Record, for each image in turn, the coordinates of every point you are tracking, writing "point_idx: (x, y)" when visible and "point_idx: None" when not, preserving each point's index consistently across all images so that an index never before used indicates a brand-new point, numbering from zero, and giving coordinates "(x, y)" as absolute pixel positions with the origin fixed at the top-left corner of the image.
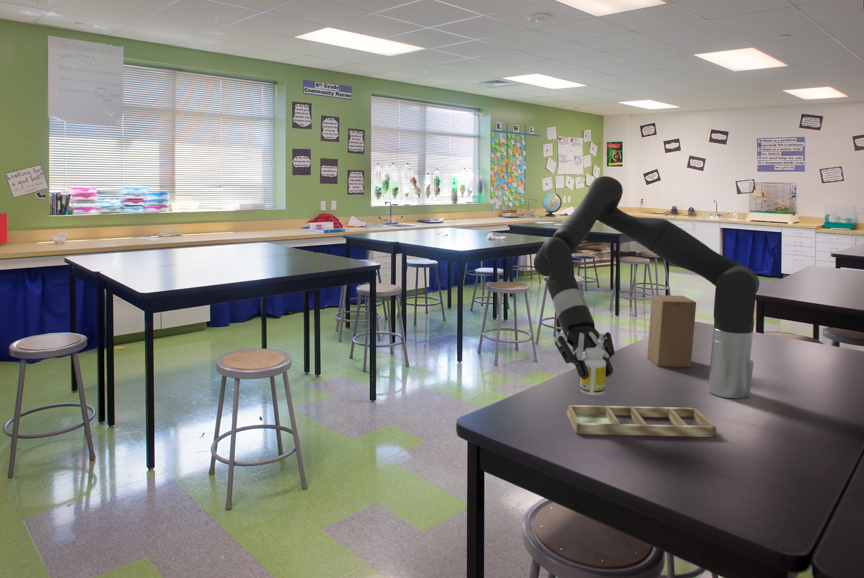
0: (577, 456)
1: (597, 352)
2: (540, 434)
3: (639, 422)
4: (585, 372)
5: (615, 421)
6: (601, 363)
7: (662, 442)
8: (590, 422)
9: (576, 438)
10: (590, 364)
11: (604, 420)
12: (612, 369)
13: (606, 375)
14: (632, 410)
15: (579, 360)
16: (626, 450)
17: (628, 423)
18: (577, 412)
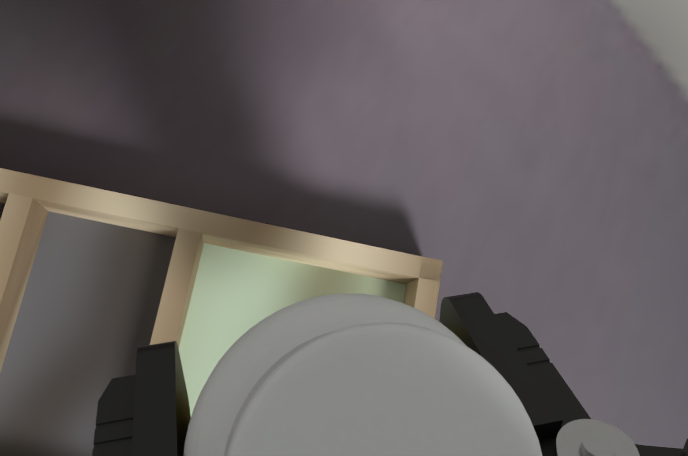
0: (504, 37)
1: (398, 332)
2: (610, 292)
3: (16, 275)
4: (489, 307)
5: (188, 269)
6: (309, 311)
7: (4, 94)
8: None
9: (444, 217)
10: (450, 333)
11: None
12: (110, 393)
13: (187, 402)
14: None
15: (584, 429)
16: (252, 47)
17: (57, 354)
18: None
